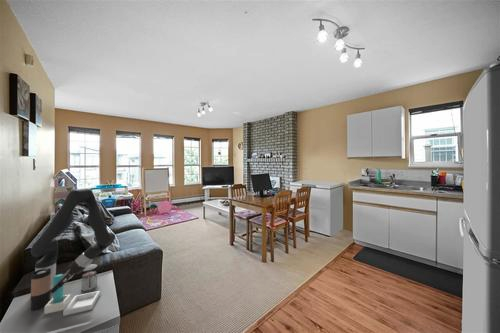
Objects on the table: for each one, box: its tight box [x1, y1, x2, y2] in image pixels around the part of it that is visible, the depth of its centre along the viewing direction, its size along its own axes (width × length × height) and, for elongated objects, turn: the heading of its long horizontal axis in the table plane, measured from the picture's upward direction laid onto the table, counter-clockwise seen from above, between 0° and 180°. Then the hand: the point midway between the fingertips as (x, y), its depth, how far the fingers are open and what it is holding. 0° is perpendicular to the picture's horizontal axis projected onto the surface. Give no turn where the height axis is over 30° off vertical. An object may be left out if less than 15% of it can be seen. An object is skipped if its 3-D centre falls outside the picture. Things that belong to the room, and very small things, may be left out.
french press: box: [80, 263, 98, 292], centre depth 126 cm, size 10×12×25 cm
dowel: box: [52, 273, 64, 304], centre depth 108 cm, size 4×4×14 cm
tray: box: [62, 290, 101, 317], centre depth 109 cm, size 12×14×4 cm
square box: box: [44, 293, 72, 315], centre depth 107 cm, size 8×8×5 cm
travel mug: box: [30, 268, 51, 311], centre depth 109 cm, size 8×8×20 cm
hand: (53, 289), depth 107 cm, fingers closed on dowel, 4 cm apart
